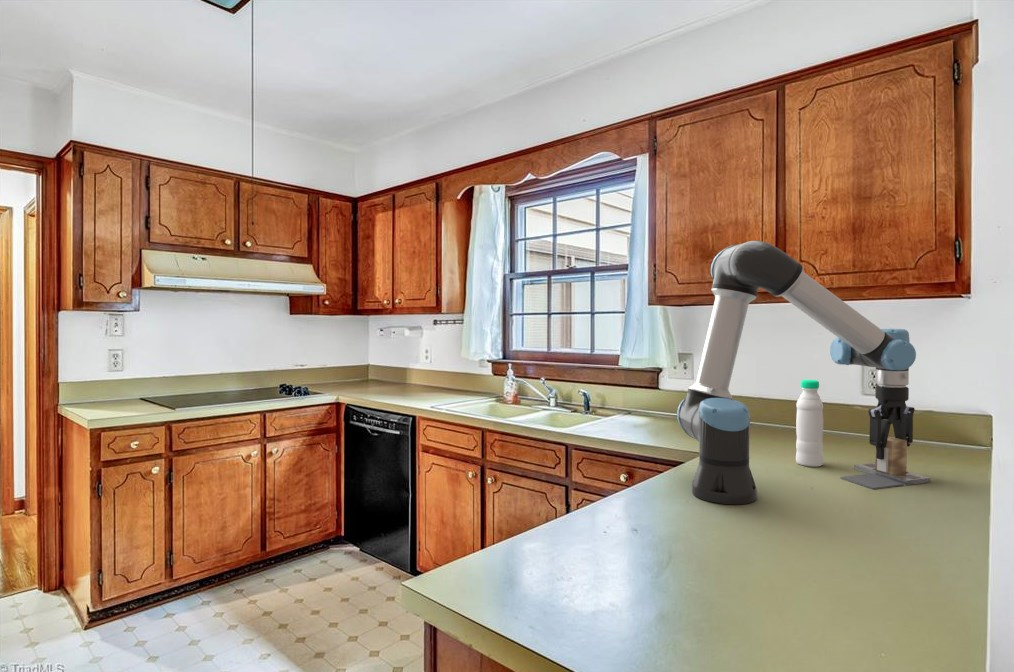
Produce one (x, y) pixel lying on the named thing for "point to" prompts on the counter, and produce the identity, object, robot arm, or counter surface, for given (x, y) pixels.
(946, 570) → the counter surface
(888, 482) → the mat
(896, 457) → the peg
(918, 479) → the plate with rectangular hole
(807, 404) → the white bottle
